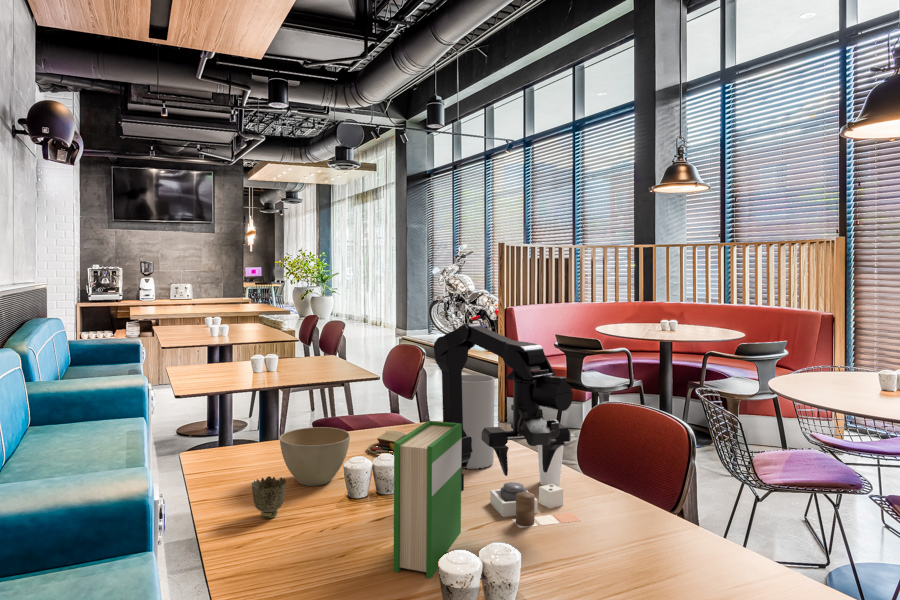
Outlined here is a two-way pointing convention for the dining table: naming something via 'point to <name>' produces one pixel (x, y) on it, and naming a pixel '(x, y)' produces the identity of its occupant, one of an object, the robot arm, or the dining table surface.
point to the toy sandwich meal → (386, 442)
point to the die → (551, 496)
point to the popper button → (511, 491)
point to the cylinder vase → (478, 417)
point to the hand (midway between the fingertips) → (525, 473)
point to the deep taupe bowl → (314, 453)
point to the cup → (268, 495)
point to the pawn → (525, 508)
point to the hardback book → (427, 495)
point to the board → (510, 510)
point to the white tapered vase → (551, 467)
